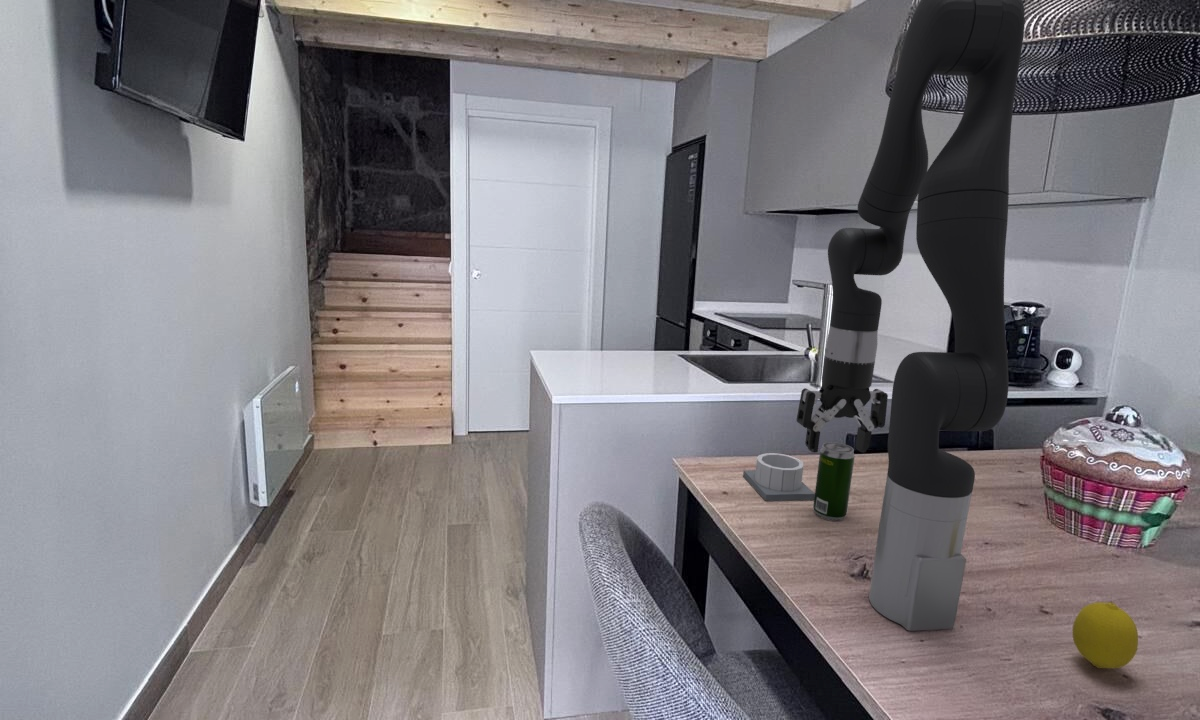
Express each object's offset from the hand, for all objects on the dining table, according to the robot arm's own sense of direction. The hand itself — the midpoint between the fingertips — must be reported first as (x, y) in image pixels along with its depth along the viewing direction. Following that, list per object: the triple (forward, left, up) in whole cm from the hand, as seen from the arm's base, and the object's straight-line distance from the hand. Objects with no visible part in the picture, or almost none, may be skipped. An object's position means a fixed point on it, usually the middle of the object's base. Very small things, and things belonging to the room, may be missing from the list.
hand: (836, 450), depth 102 cm
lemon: (-38, -12, -12) cm, 42 cm away
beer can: (0, 0, -12) cm, 12 cm away
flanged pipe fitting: (+11, +5, -11) cm, 16 cm away
